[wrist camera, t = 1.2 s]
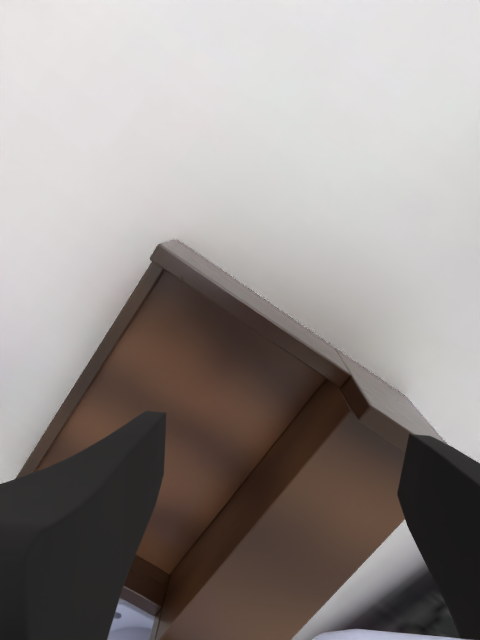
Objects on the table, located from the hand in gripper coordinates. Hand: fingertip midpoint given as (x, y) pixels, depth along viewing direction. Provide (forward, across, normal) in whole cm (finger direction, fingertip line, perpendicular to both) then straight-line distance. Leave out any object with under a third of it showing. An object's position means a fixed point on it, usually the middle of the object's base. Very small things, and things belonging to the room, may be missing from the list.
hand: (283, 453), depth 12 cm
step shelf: (+10, +3, +6) cm, 12 cm away
